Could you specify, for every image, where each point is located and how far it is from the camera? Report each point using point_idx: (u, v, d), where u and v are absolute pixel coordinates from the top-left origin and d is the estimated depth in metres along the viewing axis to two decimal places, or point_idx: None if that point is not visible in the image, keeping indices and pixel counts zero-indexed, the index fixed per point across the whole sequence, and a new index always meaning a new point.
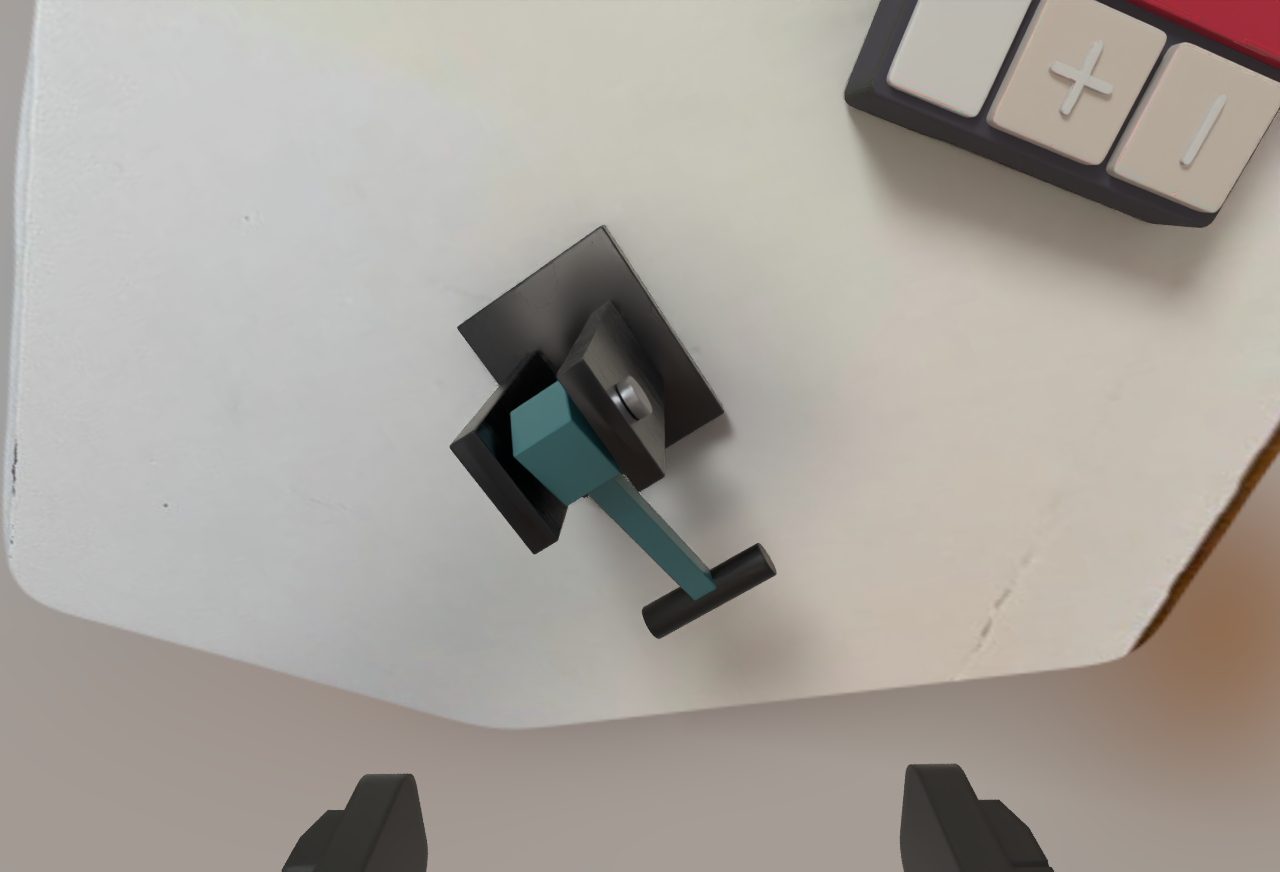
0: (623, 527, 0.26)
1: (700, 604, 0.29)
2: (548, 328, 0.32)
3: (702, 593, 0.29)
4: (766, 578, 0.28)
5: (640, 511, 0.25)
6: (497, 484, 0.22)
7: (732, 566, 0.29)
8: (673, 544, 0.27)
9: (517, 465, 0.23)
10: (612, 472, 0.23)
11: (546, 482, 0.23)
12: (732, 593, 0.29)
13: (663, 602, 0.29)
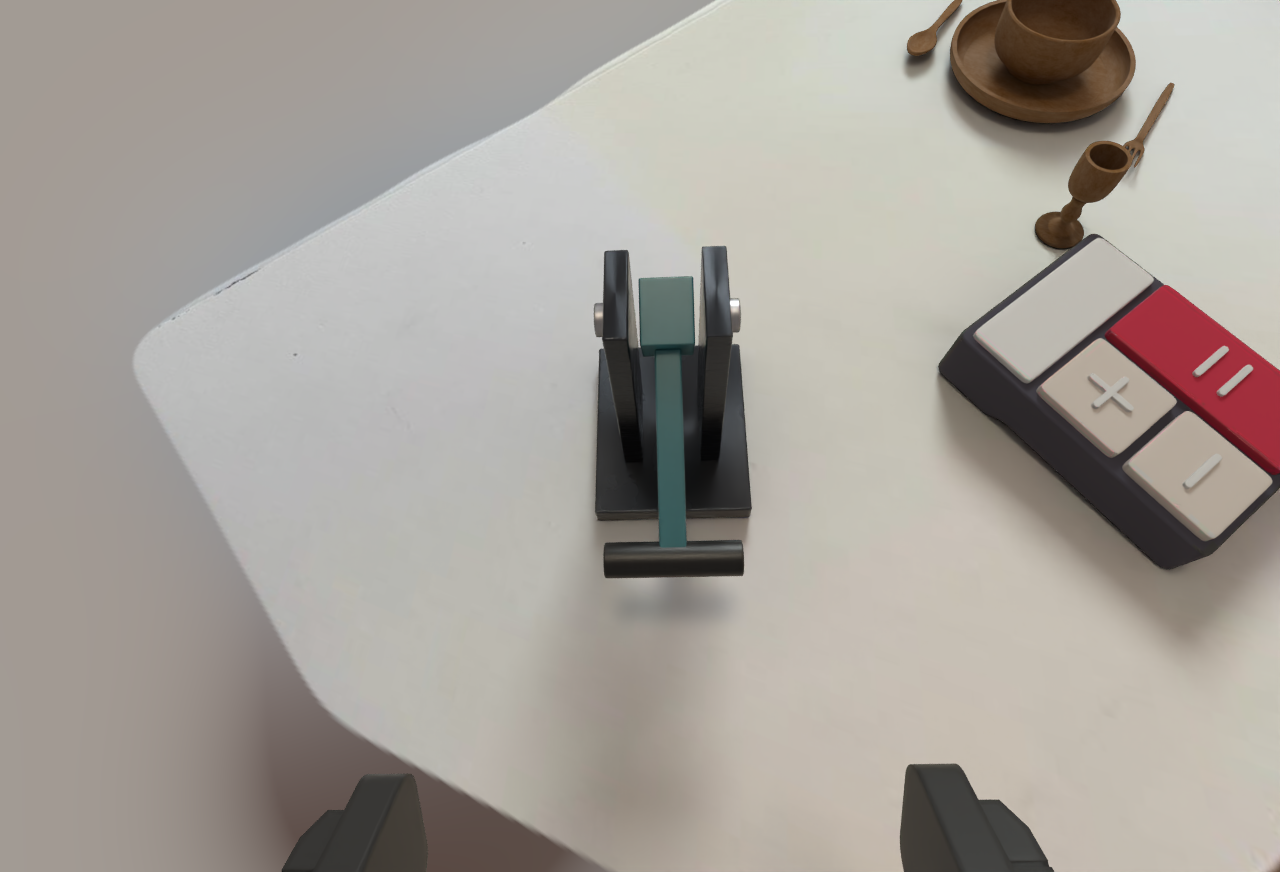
0: (658, 414, 0.29)
1: (663, 553, 0.29)
2: None
3: (671, 542, 0.29)
4: (733, 564, 0.29)
5: (680, 408, 0.29)
6: (616, 284, 0.29)
7: (710, 541, 0.29)
8: (682, 463, 0.29)
9: (630, 302, 0.30)
10: (689, 338, 0.29)
11: (643, 314, 0.29)
12: (697, 559, 0.29)
13: (630, 543, 0.30)
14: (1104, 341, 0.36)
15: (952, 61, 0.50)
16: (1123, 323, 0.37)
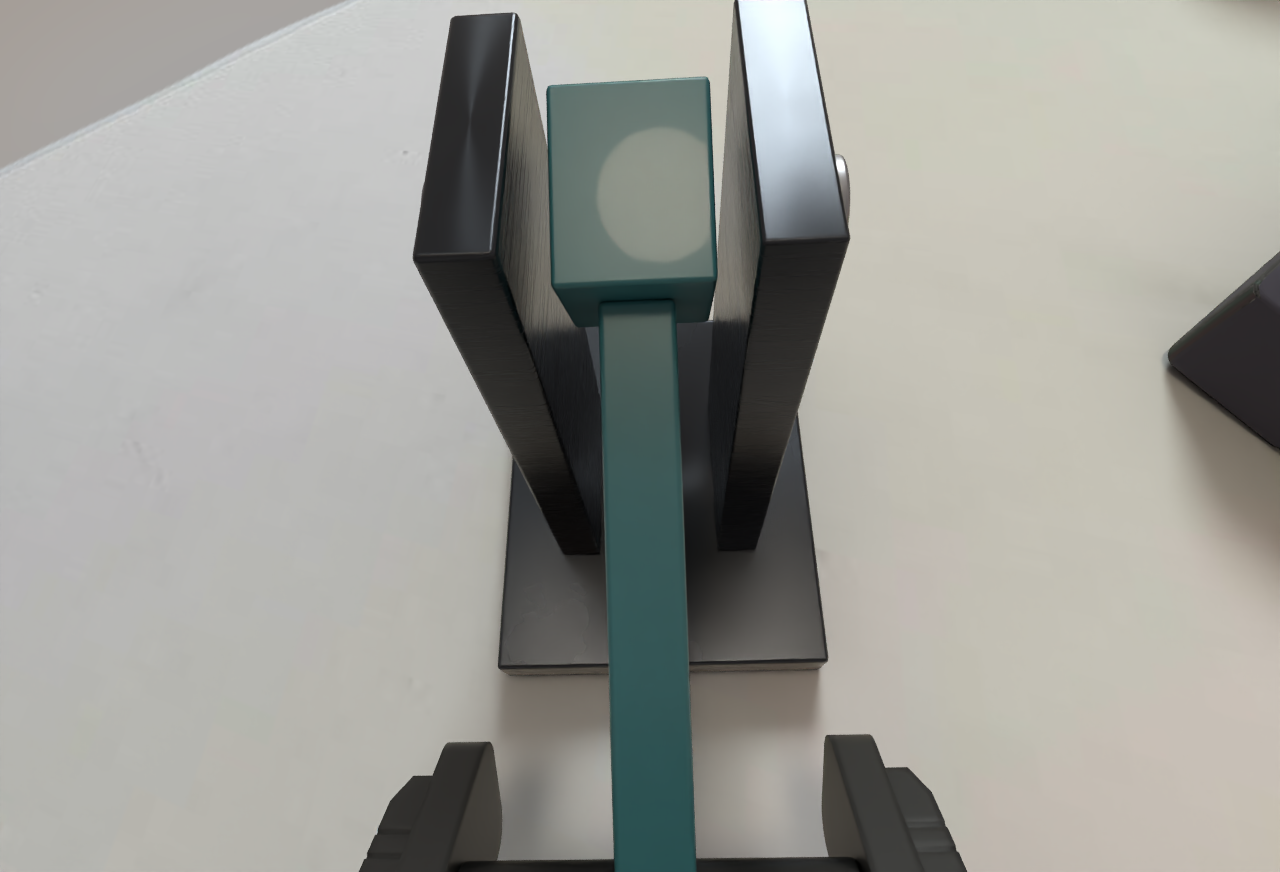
0: (610, 492, 0.10)
1: None
2: None
3: None
4: None
5: (674, 473, 0.10)
6: (475, 99, 0.09)
7: (766, 868, 0.10)
8: (682, 640, 0.10)
9: (527, 168, 0.10)
10: (702, 264, 0.09)
11: (560, 191, 0.09)
12: None
13: (531, 867, 0.10)
14: None
15: None
16: None
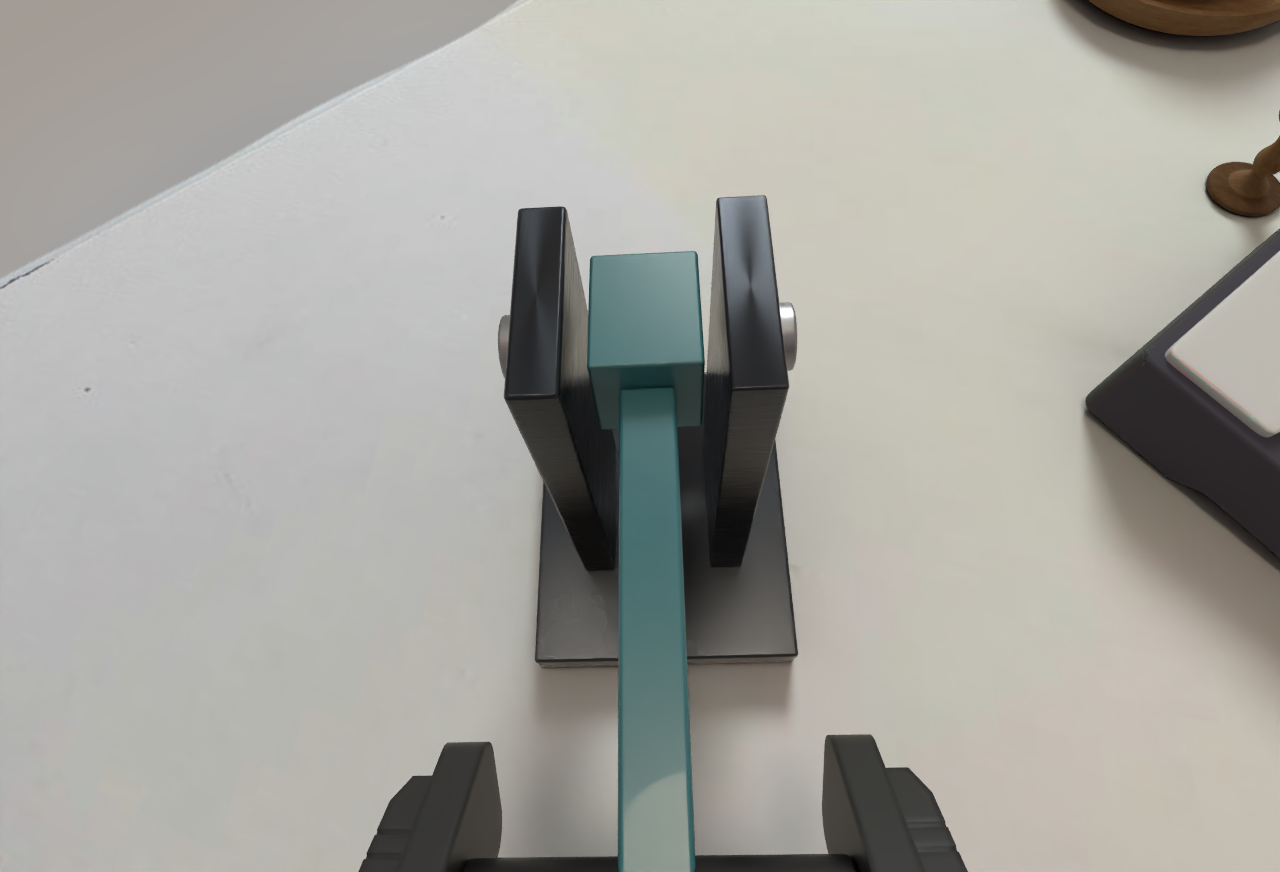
0: (624, 516, 0.13)
1: None
2: None
3: (652, 858, 0.10)
4: None
5: (674, 502, 0.13)
6: (539, 278, 0.14)
7: (761, 856, 0.10)
8: (681, 631, 0.12)
9: (571, 313, 0.15)
10: (693, 353, 0.13)
11: (596, 312, 0.14)
12: None
13: None
14: None
15: None
16: None
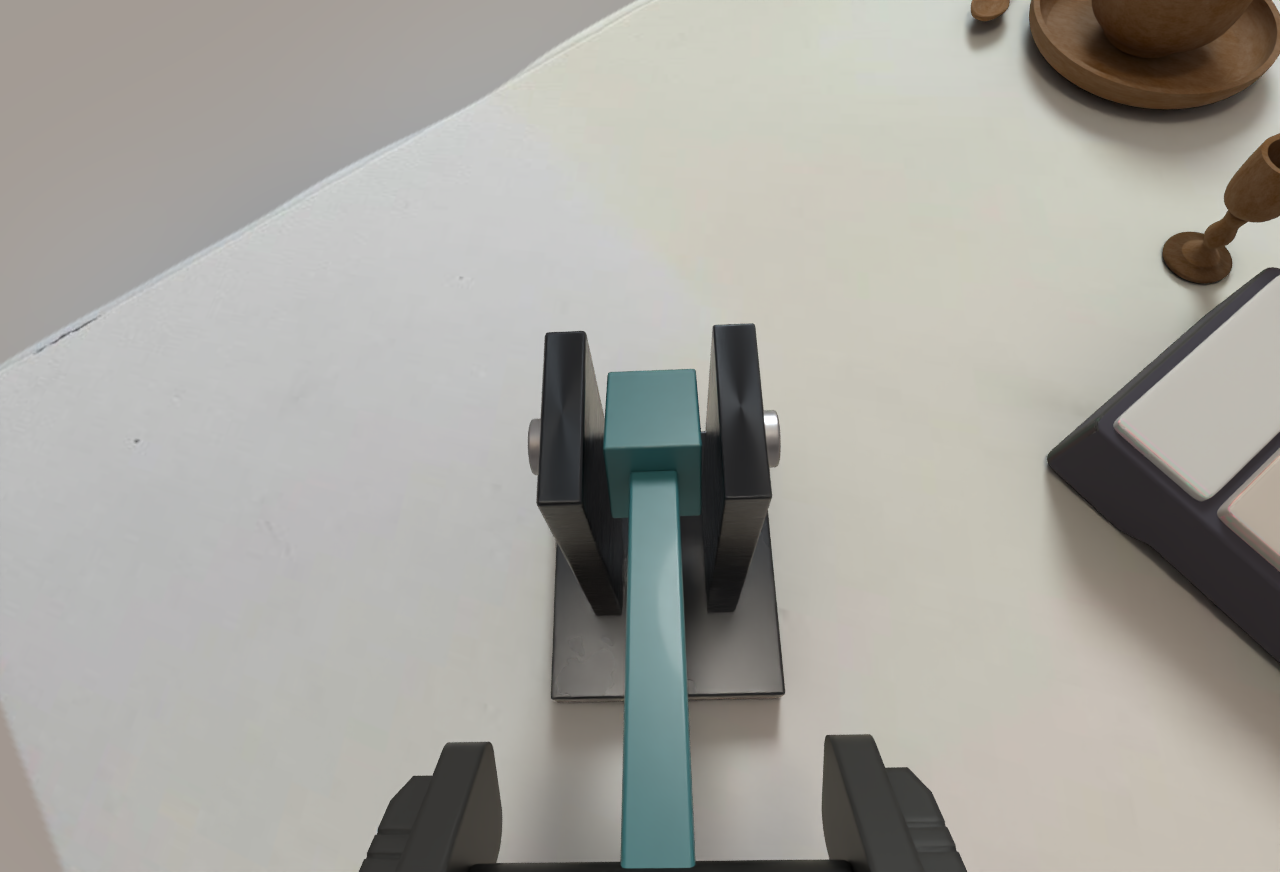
0: (632, 566, 0.14)
1: None
2: None
3: (654, 854, 0.11)
4: None
5: (676, 555, 0.15)
6: (564, 396, 0.16)
7: (759, 861, 0.11)
8: (682, 657, 0.13)
9: (590, 420, 0.17)
10: (692, 438, 0.16)
11: (612, 410, 0.17)
12: None
13: None
14: None
15: (1034, 27, 0.37)
16: None
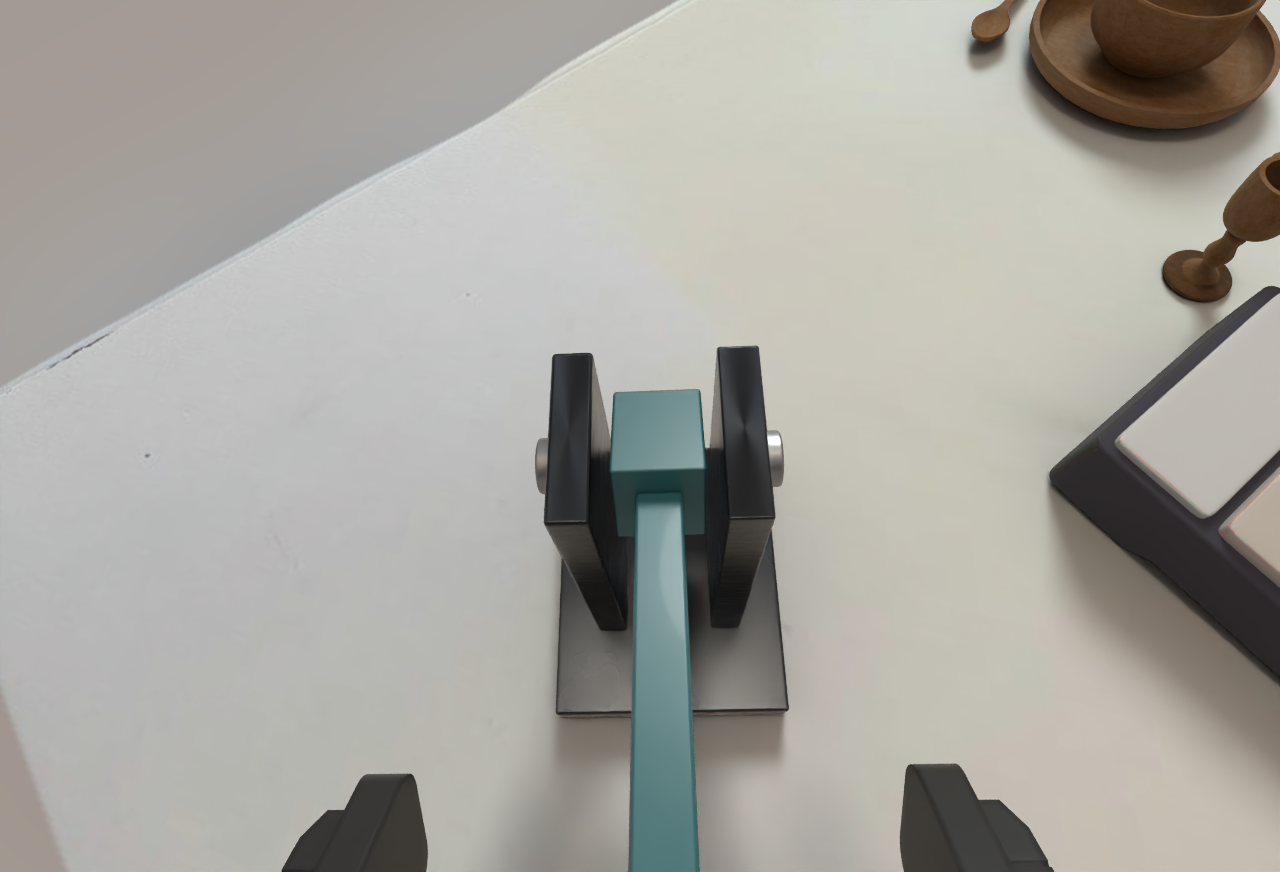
0: (638, 590, 0.15)
1: None
2: None
3: None
4: None
5: (681, 579, 0.15)
6: (571, 417, 0.17)
7: None
8: (687, 683, 0.13)
9: (596, 440, 0.18)
10: (697, 461, 0.16)
11: (618, 431, 0.17)
12: None
13: None
14: None
15: (1034, 48, 0.38)
16: None
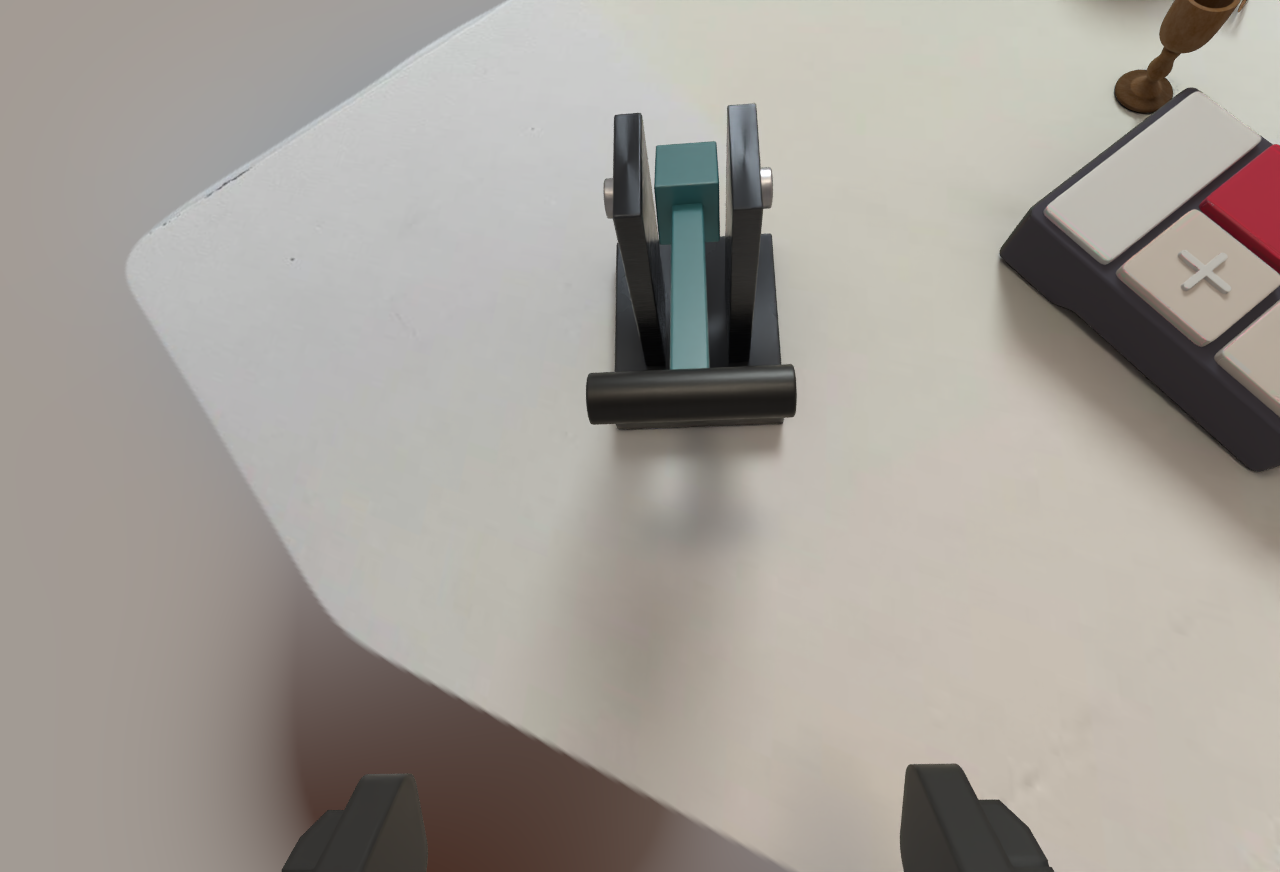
0: (674, 250, 0.23)
1: (674, 371, 0.20)
2: None
3: (688, 364, 0.20)
4: (780, 379, 0.19)
5: (701, 244, 0.23)
6: (628, 153, 0.25)
7: None
8: (704, 289, 0.22)
9: (645, 176, 0.26)
10: (712, 179, 0.24)
11: (659, 166, 0.25)
12: (724, 374, 0.19)
13: None
14: (1199, 212, 0.31)
15: None
16: (1222, 191, 0.32)
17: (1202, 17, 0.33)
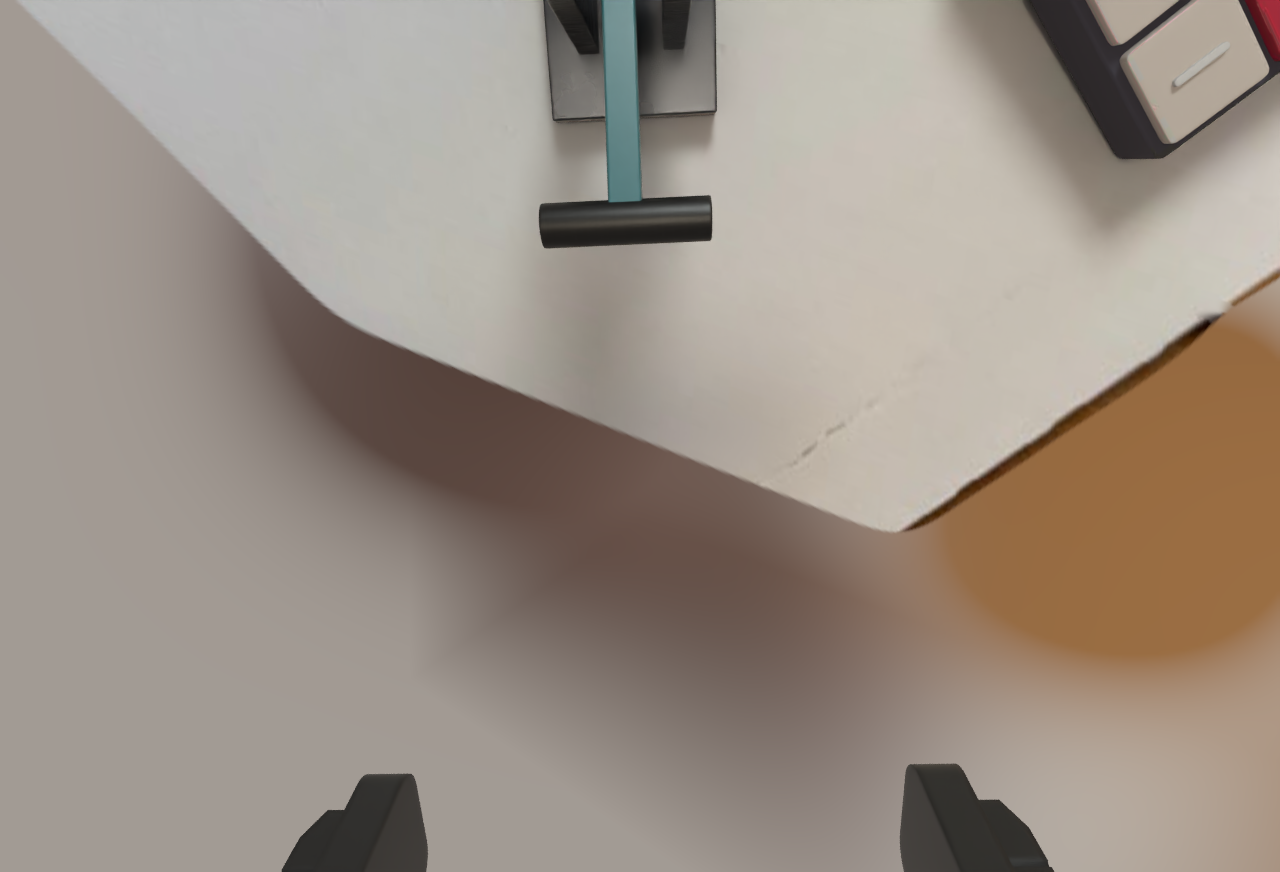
0: (605, 38, 0.23)
1: (612, 207, 0.23)
2: None
3: (623, 196, 0.23)
4: (699, 218, 0.23)
5: (632, 29, 0.23)
6: None
7: (670, 197, 0.24)
8: (635, 98, 0.23)
9: None
10: None
11: None
12: (654, 212, 0.23)
13: None
14: None
15: None
16: None
17: None
